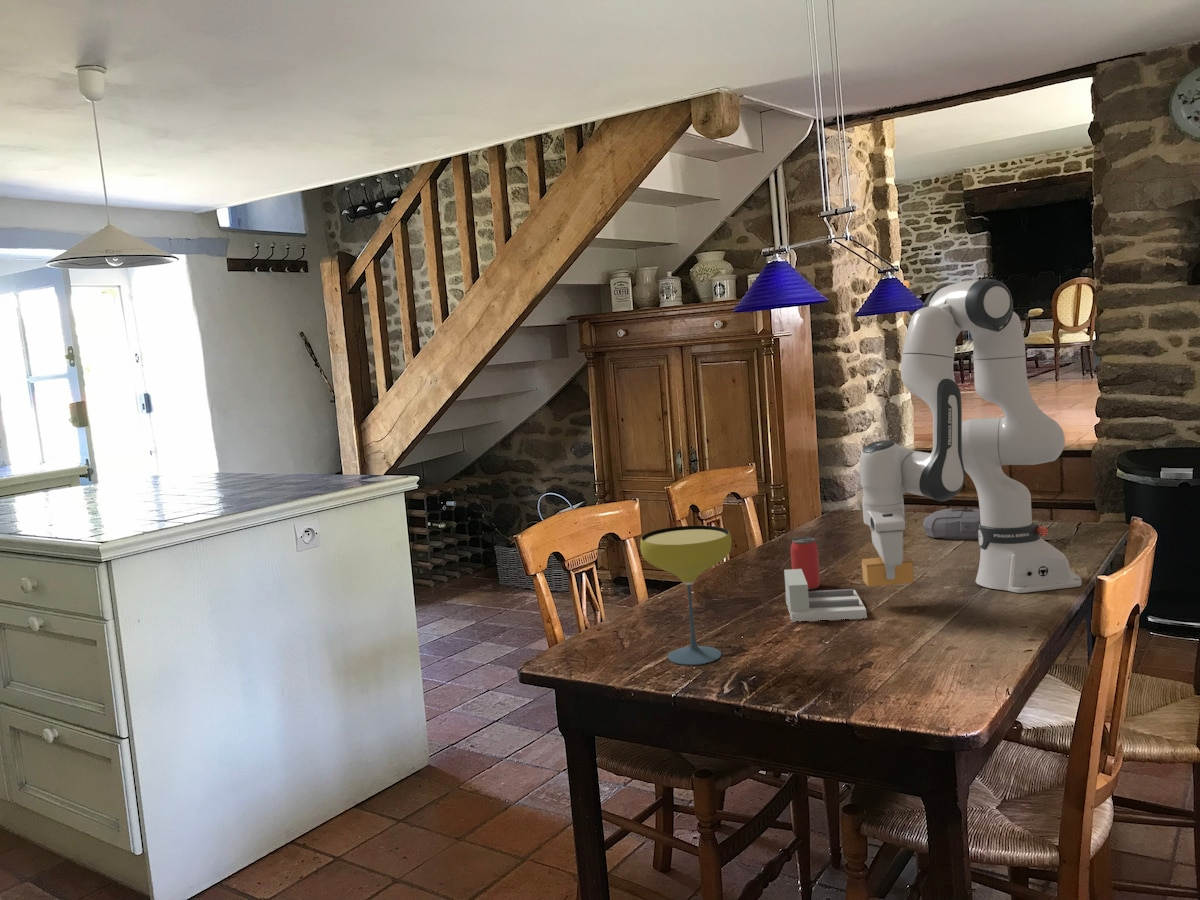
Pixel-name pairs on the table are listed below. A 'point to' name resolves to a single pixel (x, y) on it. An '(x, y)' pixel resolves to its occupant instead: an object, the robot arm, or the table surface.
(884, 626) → the table surface
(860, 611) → the white l-shaped stand
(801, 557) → the beer can
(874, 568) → the cardboard box
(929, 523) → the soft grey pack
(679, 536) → the cocktail glass
